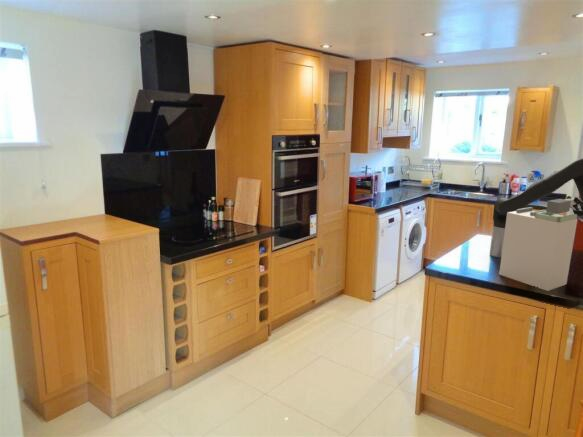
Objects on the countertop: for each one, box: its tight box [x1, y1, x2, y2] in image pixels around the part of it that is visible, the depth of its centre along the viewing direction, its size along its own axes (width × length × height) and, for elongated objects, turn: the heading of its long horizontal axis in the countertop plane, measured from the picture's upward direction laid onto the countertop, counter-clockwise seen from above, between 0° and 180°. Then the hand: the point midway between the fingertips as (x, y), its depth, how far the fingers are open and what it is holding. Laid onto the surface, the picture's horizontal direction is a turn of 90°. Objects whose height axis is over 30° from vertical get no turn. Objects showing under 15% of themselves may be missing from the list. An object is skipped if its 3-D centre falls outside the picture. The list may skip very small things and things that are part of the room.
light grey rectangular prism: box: [545, 197, 581, 215], centre depth 196 cm, size 21×5×5 cm, turn 121°
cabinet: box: [498, 206, 578, 292], centre depth 202 cm, size 16×24×34 cm, turn 31°
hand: (571, 198), depth 198 cm, fingers closed on light grey rectangular prism, 2 cm apart
